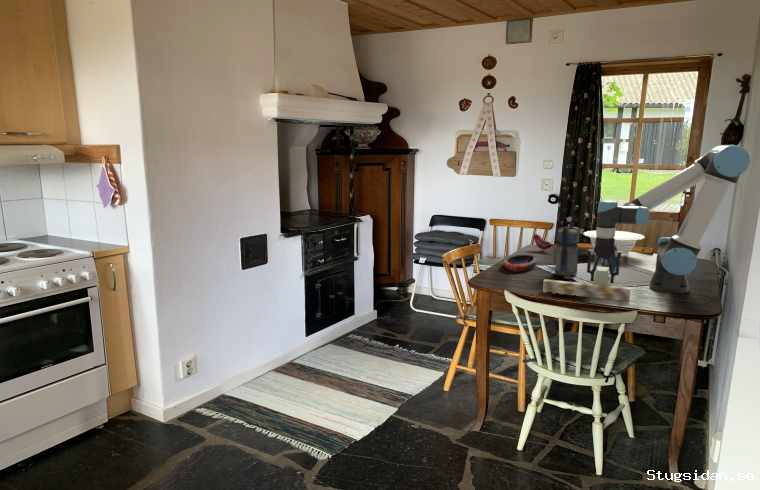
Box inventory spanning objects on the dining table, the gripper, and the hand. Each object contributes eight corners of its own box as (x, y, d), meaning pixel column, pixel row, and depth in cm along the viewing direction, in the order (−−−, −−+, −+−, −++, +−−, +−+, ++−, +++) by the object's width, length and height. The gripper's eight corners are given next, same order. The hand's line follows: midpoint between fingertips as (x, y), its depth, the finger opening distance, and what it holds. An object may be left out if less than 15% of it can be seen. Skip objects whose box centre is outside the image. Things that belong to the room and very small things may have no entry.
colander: (652, 256, 295) (654, 234, 292) (629, 266, 273) (631, 242, 271) (596, 248, 318) (597, 228, 315) (571, 256, 296) (572, 234, 294)
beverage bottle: (550, 276, 255) (553, 225, 250) (558, 270, 265) (561, 221, 260) (572, 279, 249) (575, 227, 244) (579, 273, 260) (582, 223, 255)
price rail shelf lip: (629, 299, 217) (630, 287, 216) (629, 301, 213) (630, 289, 212) (543, 290, 231) (544, 279, 230) (542, 292, 227) (543, 281, 226)
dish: (542, 263, 282) (543, 254, 281) (524, 275, 256) (525, 265, 255) (514, 260, 290) (515, 251, 289) (494, 271, 265) (494, 262, 264)
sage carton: (595, 288, 233) (596, 266, 231) (608, 289, 231) (609, 267, 229) (594, 292, 226) (595, 270, 224) (607, 294, 224) (609, 271, 222)
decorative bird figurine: (533, 249, 317) (534, 233, 315) (559, 254, 303) (560, 237, 301) (530, 250, 315) (531, 233, 313) (557, 254, 302) (558, 237, 300)
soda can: (613, 266, 272) (615, 244, 270) (617, 270, 265) (619, 246, 263) (599, 266, 273) (601, 244, 270) (603, 269, 266) (605, 246, 264)
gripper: (581, 237, 224) (578, 289, 229) (629, 239, 217) (624, 294, 222) (583, 234, 231) (579, 285, 236) (629, 236, 224) (624, 289, 228)
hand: (601, 289), depth 229 cm, fingers closed on sage carton, 5 cm apart
